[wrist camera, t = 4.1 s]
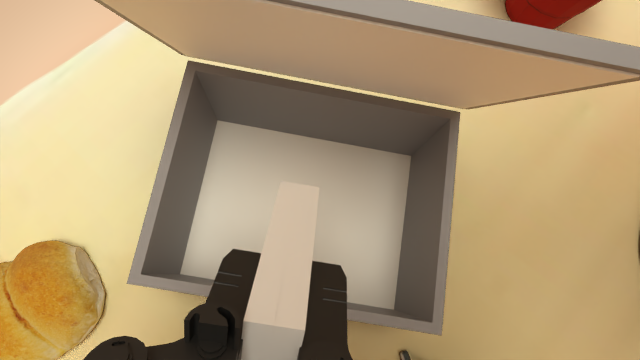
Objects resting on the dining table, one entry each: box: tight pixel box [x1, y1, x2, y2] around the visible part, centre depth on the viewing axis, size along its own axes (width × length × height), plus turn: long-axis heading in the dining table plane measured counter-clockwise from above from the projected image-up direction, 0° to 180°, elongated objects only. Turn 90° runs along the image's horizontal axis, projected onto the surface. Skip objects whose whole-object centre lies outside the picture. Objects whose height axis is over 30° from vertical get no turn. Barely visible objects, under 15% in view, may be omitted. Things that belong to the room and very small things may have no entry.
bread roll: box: [0, 241, 105, 360], centre depth 28 cm, size 8×9×4 cm
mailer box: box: [127, 61, 460, 335], centre depth 28 cm, size 18×14×9 cm
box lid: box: [95, 0, 640, 109], centre depth 18 cm, size 19×14×1 cm
